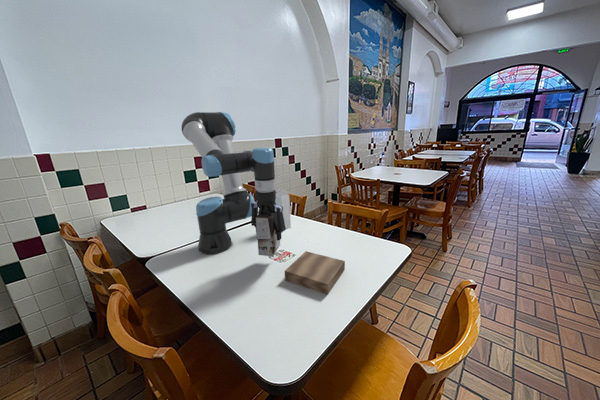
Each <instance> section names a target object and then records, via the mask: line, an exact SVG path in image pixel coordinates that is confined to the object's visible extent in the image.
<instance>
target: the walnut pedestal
mask: <svg viewBox="0 0 600 400" xmlns="http://www.w3.org/2000/svg"><path fill="white" fill-rule="evenodd" d="M345 265H346V261H345V260H342V259H339V258H335V257H334V258H333V257H330V256H327V255H322V254H319V253H314V252H309V251H306V250H305V252H303V253H302V254H301V255H300V256H299V257H297V258H296V260H295V261H294V262H293V263H291V264H290V265H289V266H288V267H287V268H285V270H284V281H286V282H289V283H292V284H295V285H298V286H301V287H304V288H307V289H309V290H313V291H317V292H319V293H322V294H324V295H329V294H330V292H331V291H332V289H333V288H334V286H335V285H336V283H337V282H338V280H340V278H341V276H342V275H343V273H344V272H345V268H346V266H345Z"/></svg>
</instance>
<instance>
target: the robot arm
mask: <svg viewBox="0 0 600 400" xmlns="http://www.w3.org/2000/svg"><path fill="white" fill-rule="evenodd" d="M236 131H237V130H236V124H235V121H234V118H233V117H232V115H230V114H229V113H227V112H221V111H217V112H208V111H207V112H200V111H199V112H198V111H196V112H193V113H190V114H189V115H187V116H186V117H185V118H184V119H183V121H182V123H181V132H182V133H181V134H182V135H183V136H184V138H185V139H186V140H188V142H191V143H192V145H193V147H194V148H195V150H196V151H197V152H198V154H199V155H200V156H201V168H202V171H203V174H204V175H205V176H206V177H209V178H210V177H219V176H221V178H222V183H223V186H224V190H225V192H224V194H223V198H222V197H221V196H210V197H207V198H205V199H202V200H200V201H199V202H197V203H196V206H195V209H196V210H195V211H196V212H195V213H196V216H197V218H196V219H197V223H198V230H199V239H198V244H197V248H198V252H200V253H201V252H202V253H201V254H204V253H206V254H205V255H215V254H219V253H222V252H225V251H227V250H228V249H230V248H231V247H232V245H233V242H232V237H231V236H230V233H229V232H228V230H227V226H226V224H228V223H229V224H230V223H233V222H236V221H242V220H246V219H248V218H250V219H251V220H250V221H251V222H250V223H251V224H250V225H251V226H252V227H254V228H255V234H256V235H257V227H256V217H257V216H258V215H259V214H262V213H263V214H265V213H266V214H268V216H273V215H274V219H273V221H274V229H275V231H276V232H275V233H274V240H275V248H278V247H279V248H280V246H281V240H282V233H284V232H285V231H286V230H287V229H286V228H285V223H284V217H283V206H280V207H279V206H277V205H276V203H275V200H276V193H277V190H276V188H277V187H276V177H275V175H276V173H275V170H276V169H275V157H274V149H273V148H271V147H256V148H255V147H254V148H253V149H252V150H244V151H242V152H235V150H234V147H233V143H232V141H233V139H234V136H235V135H236ZM246 172H247V173H248V172H252V173H253V176H254V177H253V179H254V188H255V198H254V196H253V194H252V193H248V190H247V189H246V188H244V186H243V185H244V184H243V181H242V177H241V175H240V174H241V173H246ZM255 200H256V201H255ZM275 209H276V211H275ZM271 213H272V214H271ZM276 215H277V216H276ZM279 248H278V249H279ZM214 253H215V254H214Z"/></svg>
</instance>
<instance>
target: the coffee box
mask: <svg viewBox="0 0 600 400" xmlns="http://www.w3.org/2000/svg"><path fill="white" fill-rule="evenodd" d="M275 211H276V210H275ZM271 214H272V213H271ZM276 216H277V215H276ZM273 219H274V215H273V216H268V214H266V213H265V214H263V213H262V214H259V215H258V216H257V217H256V227H257V234H256V239H257V251H258V252H257V253H258V256H264V257H274V256H275V254H276V253H277V251H278V249H279V248H280V246H279V247H278V248H275V240H274V233H275V232H276V231H275V229H274V221H273Z"/></svg>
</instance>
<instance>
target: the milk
mask: <svg viewBox="0 0 600 400" xmlns="http://www.w3.org/2000/svg"><path fill="white" fill-rule="evenodd" d="M275 203H276V205H277V206H279V207H280V206H283V217H284V223H285V228H286V230H288V229H290V228H292V223H291V206H290V205H291V204H290V203H291V202H290V194H288V193H287V192H286V190H285V189H280V188H277V190H276V200H275ZM275 210H276V209H275Z"/></svg>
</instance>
